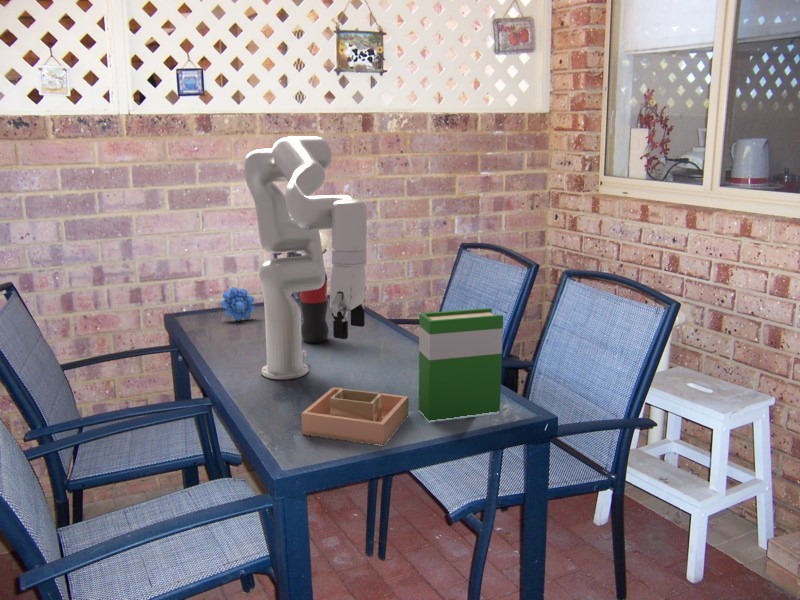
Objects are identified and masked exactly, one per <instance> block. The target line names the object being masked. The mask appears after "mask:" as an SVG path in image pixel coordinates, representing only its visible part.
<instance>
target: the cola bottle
mask: <svg viewBox="0 0 800 600" xmlns="http://www.w3.org/2000/svg"><path fill="white" fill-rule="evenodd" d="M328 301H329V300H328V276H327V274H326V272H325V281H324V284H323V286H322V287H321V288H319V289H316V290H311V291H303V292H300V310H301V314H302V315H301V316H302V318H303V322H302V323H301V338H302V339H303V341H304V342H306V343H309V344H319V343H323V342H324V341H326V340H327V338H328V336H329V327H328V323H327V311H328V303H329V302H328Z"/></svg>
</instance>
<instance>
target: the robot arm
mask: <svg viewBox="0 0 800 600" xmlns="http://www.w3.org/2000/svg"><path fill="white" fill-rule="evenodd" d="M332 157H333V155H332V149H331V146H330V144H329V143H328V141H327V140H326V139H324V138H322V137H320V136H316V135H315V136H309V135H308V136H287V137H286V136H285V137H281V138H279V139H278V140H277V141H275V143H274V144H273V147H272V148H270V147H269V148H260V149H255V150H253V151H250V152H249V153H248V154H247V155H246V156H245V159H244V164H243V165H244V166H243V168H244V178H245V181H246V185H247V187H248V190H249V192H250V194H251V196H252V199H253V201H254V207H255V213H256V214H255V215H256V221H257V228H258V233H259V234H258V235H259V241H260V244H261V247H262V249H263V250H264V252H266V253H269V254H282V253H296V252H299V253H300V254H301V255H299V256H288V257H278V258H271V259H269V260H266V261H265V262H264V263H262V264H261V266H260V268H259V274H258V275H259V282H260V286H261V290H262V291H261V292H262V296H263V304H264V305H263V306H264V321H265V322H264V324H265V345H266V348H265V349H266V365H264V366H262V368H261V375H262V376H264V377H265V378H268V379H272V380H291V379H298V378H301V377H303V376H305V375H306V374H307V373H308V372H309V366H308V364H306V363H305V362H304V363H303V358H304V357H306V356H307V354H308V353H307V350H306V349H303V348H302V347H303V346H302V345H303V344H302V342H303V341H302V339H303V337H302V334H301V328H302V315H301V314H302V310H301V306H300V305H299V304H298V302H297V301H296V300H295V299H294V298H293V297H292V294H296V293H301V292H303V291H311V290H316V289H319V288H321V287H322V286H323V284H324V281H325V273H326V268H325V261H324V254H323V249H322V247H323V246H322V240H321V234H320V231H322V230H331V265H332V268H331V275H330V285H329V286H330V290H329V292H330V293H329V307H330V309H331V316H332V323H333V326H332V327H333V335H332V336H333V338H335V339H340V340H347V339H348V338H349V329H348V328H349V320H347V318H348V315H349V312H350V326H352V327H358V328H359V327H360V328H362V327H364V326H365V314H366V313H365V308H366V304H365V301H366V292H367V288H366V269H365V265H366V264H367V253H368V252H367V244H368V243H367V240H368V238H367V235H368V234H367V230H368V229H367V226H368V225H367V224H368V223H367V222H368V220H367V219H368V217H367V213H368V209H367V205H366V203H365V201H363V200H362V199H355V198H354V197H353V196H351V195H348V194H328V195H327V194H324V195H322V194H321V195H314V193H316V192H317V191H319V190H320V188H322V187H323V184H324V182H325V178H326V173H325V171H327V170H328V168H329V167H330V165H331V163H332ZM275 182H288V183H287V186H286V189H285V194H284V192H283V190H281V189H280V188H279V187H278V185H276V184H275ZM342 312H343V313H342Z"/></svg>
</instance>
